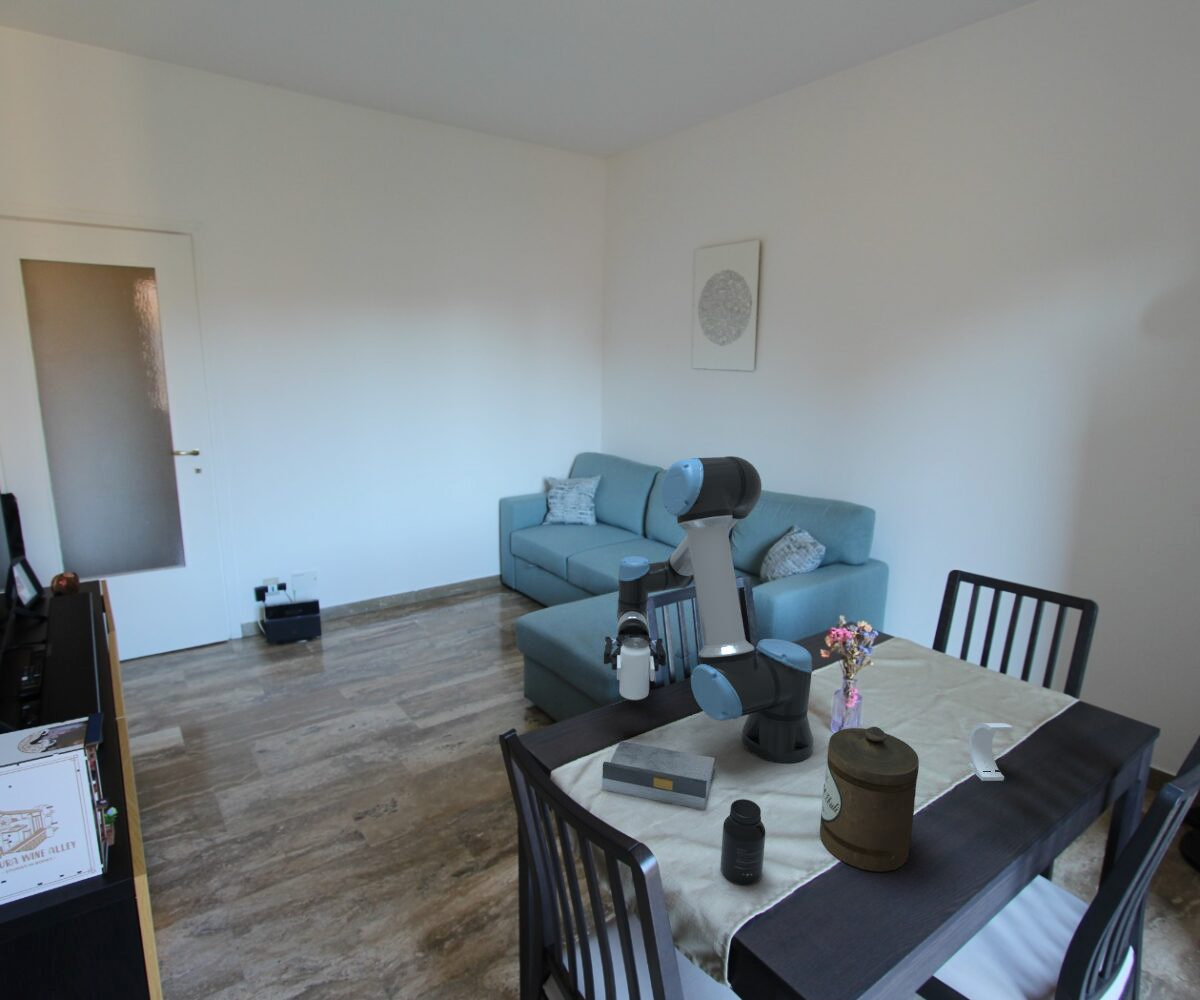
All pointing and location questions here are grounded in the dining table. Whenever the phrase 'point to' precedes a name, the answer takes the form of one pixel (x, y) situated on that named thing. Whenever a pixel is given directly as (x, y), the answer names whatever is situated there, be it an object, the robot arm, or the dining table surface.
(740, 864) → the supplement bottle
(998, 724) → the headphone stand
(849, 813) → the wooden container
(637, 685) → the can
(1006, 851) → the dining table surface
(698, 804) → the grey tray
